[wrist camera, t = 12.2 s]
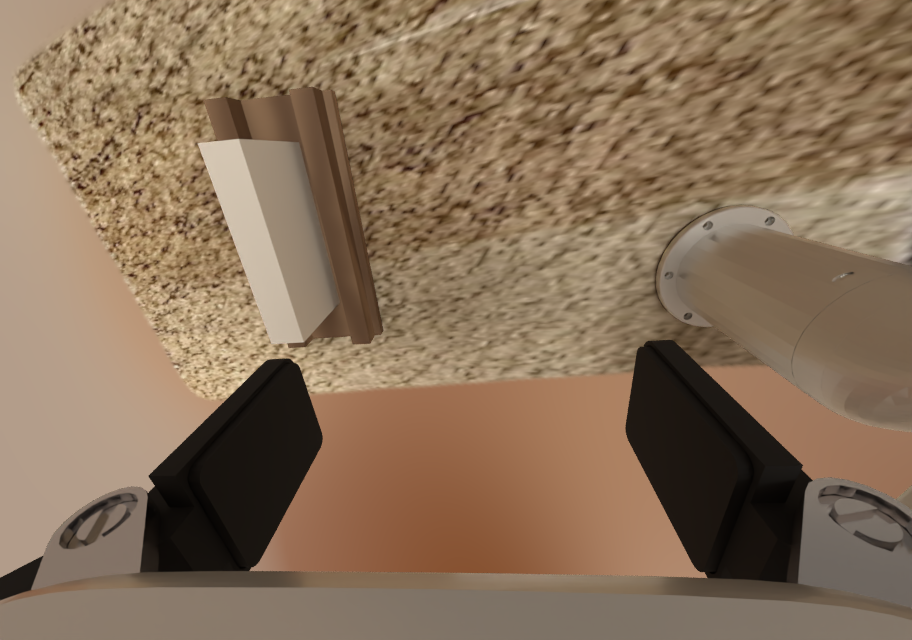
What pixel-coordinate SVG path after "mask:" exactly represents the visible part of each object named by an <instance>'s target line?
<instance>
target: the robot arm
mask: <svg viewBox="0 0 912 640" xmlns="http://www.w3.org/2000/svg"><path fill="white" fill-rule="evenodd" d="M703 225H704V226H703ZM656 289H657V293H658V297H659V299H660V301H661V303H662V305H663V306H664V307H665V308H666V310H667V311H668V312H669V313H670V314H672V315H673V316H674V317H675V318H677V319H678V320H680V321H682V322H684V323H687V324H690V325H693V326H700V327H715V328H717V329H718V330H719V331H721V332H722V333H724V334H725V335H726V336H728V337H729V338H730V339H732V340H733V341H735V342H736V343H737V344H739V345H740V346H741V347H743V348H744V349H746V350H747V351H748V352H750V353H751V354H752V355H754V356H755V357H756V358H758V359H759V360H761V361H762V362H763V363H765V364H766V365H767V366H769V367H770V368H772V369H773V370H774V371H776V372H777V373H778V374H780V375H781V376H782V377H784V378H785V379H787V380H788V381H789V382H791V383H792V384H793V385H795V386H796V387H798V388H799V389H801V390H802V391H803V392H804V393H806V394H808V395H809V396H810V397H812V398H813V399H814V400H816V401H817V402H819V403H820V404H822V405H823V406H825V407H827V408H828V409H830V410H831V411H833V412H835V413H837V414H839V415H841V416H843V417H845V418H848V419H850V420H853V421H856V422H859V423H862V424H865V425H870V426H874V427H879V428H885V429H890V430H897V431H906V432H912V266H909V265H905V264H901V263H897V262H893V261H889V260H886V259H882V258H878V257H874V256H870V255H867V254H863V253H859V252H855V251H851V250H847V249H844V248H840V247H836V246H832V245H828V244H824V243H821V242H817V241H813V240H809V239H805V238H801V237H798V236H794V235H793V232H792V230H791V228H790V227H789V225H788V223H787V222H786V221H785V220H784V219H783V218H782V217H780V216H779V215H778V214H776V213H774V212H772V211H770V210H768V209H764V208H760V207H755V206H746V205H738V206H729V207H725V208H721V209H717V210H714V211H712V212H710V213H707V214H705V215H703V216H701V217H699V218H698V219H696V220H695V221H693V222H691V223H690V224H689V225H688V226H686V227H685V228H684V229H683V230H682V231H681V232H679V234H678V235H677V236H676V237H675V238H674V239H673V240H672V241H671V243H670V244H669V246H668V247H667V249H666V250H665V252H664V254H663V256H662V258H661V261H660V263H659V265H658V270H657V275H656ZM626 435H627V438H628V441H629V443H630V444H631V446H632V448H633V450H634V452H635V454H636V456H637V458H638V460H639V462H640V463H641V466H642V468H643V469H644V471H645V473H646V475H647V477H648V479H649V481H650V483H651V485H652V487H653V488H654V491H655V492H656V494H657V496H658V498H659V500H660V502H661V504H662V506H663V508H664V510H665V512H666V514H667V516H668V517H669V519H670V521H671V523H672V525H673V527H674V529H675V531H676V533H677V535H678V537H679V538H680V540H681V542H682V544H683V546H684V548H685V550H686V552H687V554H688V556H689V558H690V560H691V562H692V563H693V565H694V567H695V568H696V569H697V570H698V571H700V572H705V574H706V575H707V578H688V577H659V576H658V577H657V576H612V575H610V576H609V575H607V576H606V575H555V574H554V575H553V574H550V575H549V574H493V573H490V574H489V573H409V572H408V573H407V572H406V573H405V572H289V571H288V572H287V571H285V572H283V571H279V572H277V571H249V570H250V569H251V567H254V566H256V564H257V563H258V562H259V561H260V559H261V557H262V556H263V554H264V552H265V550H266V548H267V546H268V544H269V542H270V541H271V539H272V537H273V535H274V533H275V531H276V530H277V528H278V526H279V524H280V522H281V520H282V518H283V516H284V515H285V513H286V511H287V509H288V507H289V505H290V503H291V502H292V500H293V498H294V496H295V494H296V492H297V490H298V489H299V487H300V485H301V483H302V481H303V479H304V477H305V475H306V474H307V472H308V470H309V468H310V466H311V464H312V462H313V461H314V459H315V457H316V455H317V453H318V451H319V450H320V448H321V445H322V439H323V438H322V432H321V429H320V426H319V423H318V421H317V418H316V415H315V411H314V408H313V406H312V403H311V400H310V397H309V394H308V391H307V388H306V385H305V382H304V379H303V376H302V373H301V370H300V367H299V366H298V364H296V363H294V362H293V361H292V360H291V359H270V360H267V361H266V362H264V363H263V364H262V365H261V366H260V367H259V368H258V369H257V370H256V371H255V372H254V373H253V374H252V375H251V376H250V377H249V378H248V379H247V380H246V381H245V382H244V383H243V384H242V385H241V386H240V387H239V388H238V389H237V390H236V391H235V392H234V393H233V394H232V395H231V396H230V397H229V398H228V399H227V400H226V401H225V402H224V403H223V404H222V405H221V406H219V407H218V409H217V410H215V411H214V413H212V414H211V415H210V416H209V417H208V418H207V419H206V420H205V421H204V422H203V423H202V424H201V425H200V426H199V427H198V428H197V429H196V430H195V431H194V432H193V433H192V434H191V435H190V436H189V437H188V438H187V439H186V440H185V441H184V442H183V443H182V444H181V445H180V446H179V447H178V448H177V449H176V450H175V451H173V453H171V454H170V455H169V456H168V457H167V458H166V459H165V460H164V461H163V462H162V463H161V464H160V465H159V466H158V467H157V468H156V469H155V470H154V471H153V472H152V473H151V474H150V475H149V478H150V479H151V480H152V482H153V484H154V485H155V487H154V488H153V489H152V490H151V491H150V492H149V493H147V491H146V490H144V489H143V488H141V487H127V488H122V489H118V490H116V491H113V492H110V493H108V494H105V495H103V496H101V497H99V498H97V499H96V500H93V501H92V502H90V503H89V504H87V505H86V506H84V507H82V508H81V509H79V510H78V511H77V512H75V513H74V514H73V515H72V516H71V517H69V518H68V519H67V520H66V521H65V522H64V523H63V524H62V525H61V526H60V527H59V528H58V529H57V530H56V531H55V533H54V534H53V536H52V538H51V539H50V541H49V543H48V545H47V548H46V550H45V553H44V556H42V557H40V558H38V559H36V560H34V561H32V562H30V563H28V564H26V565H24V566H22V567H20V568H18V569H17V570H14V571H13V572H11V573H9V574H7V575H5V576H3V577H1V578H0V640H912V486H910V487H909V488H908V489H907V490H906V491H905V492H904V493H903V494H902V495H900V496H899V497H898V498H897V499H894V498H892V497H890V496H889V495H887V494H884V493H882V492H880V491H878V490H875V489H873V488H871V487H868V486H866V485H863V484H859V483H856V482H853V481H849V480H844V479H838V478H818V479H816V480H814V481H813V480H812V479H811V478H809V477H808V475H806V474H805V473H804V472H803V471H802V470H801V468H802V466H803V465H802V464H801V463H800V462H799V461H798V460H797V459H796V458H795V457H794V456H792V455H791V454H790V453H789V452H788V451H787V450H786V449H785V448H784V447H783V446H782V445H781V444H780V443H779V442H778V441H777V440H776V439H775V438H774V437H773V436H772V435H771V434H770V433H769V432H767V431H766V429H765V428H764V427H762V426H761V425H760V424H759V423H758V422H757V421H756V420H755V419H754V418H753V417H752V416H751V415H750V414H749V413H748V412H747V411H746V410H745V409H744V408H743V407H742V406H741V405H740V404H739V403H737V401H735V400H734V399H733V398H732V397H731V396H730V395H729V394H728V393H727V392H726V391H725V390H724V389H723V388H722V387H721V386H720V385H719V384H718V383H717V382H716V381H715V380H714V379H713V378H712V377H711V376H709V374H707V373H706V372H705V371H704V370H703V369H702V368H701V367H700V366H699V365H698V364H697V363H696V362H695V361H694V360H693V359H692V358H691V357H690V356H689V355H688V354H687V353H686V352H685V351H684V350H683V349H682V348H681V347H679V346H678V345H677V344H676V343H675V342H674V341H672V340H660V341H647V342H646V343H645V345H644V347H639V348H638V351H637V355H636V362H635V368H634V375H633V381H632V388H631V395H630V401H629V407H628V415H627V420H626Z"/></svg>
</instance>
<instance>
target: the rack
mask: <svg viewBox="0 0 912 640" xmlns="http://www.w3.org/2000/svg"><path fill="white" fill-rule="evenodd" d="M289 92H290V95H283V96H274V97H266V98H258V99H249V100H241V101H240V100H236V99H231V98H227V97H224V98H216V99H207V100H203V101H204V103H205V106H206V109H207V112H208V115H209V118H210V121H211V124H212V127H213V130H214V133H215V135H216V138H217V141H224V140H233V139H250V140H267V141H285V142H299V144H300V148H301V152H302V156H303V160H304V164H305V168H306V172H307V176H308V180H309V184H310V188H311V192H312V195H313V199H314V203H315V207H316V211H317V215H318V219H319V223H320V227H321V231H322V235H323V239H324V243H325V246H326V250H327V254H328V258H329V262H330V266H331V270H332V274H333V278H334V282H335V286H336V290H337V294H338V297H339V301H340V303H339V304H338V305H337V306H336V307H335V308H334V309H333V311H332V312H331V313H330V314H329V315H328V316H327V317H326V318H325V319H324V321H323V322H322V323H321V324H320V325H319V326H318V327H317V328H316V329H315V331H314V332H313V333H312V334H311V335H310V336H309V337H308V338H307V339H306V340H305V342H300V343H287V344H288V347H289V348H295V347H306V346H307V345H308V344H309V342H310V341H311V340H312V339H313V338H329V337H347V336H351V339H352V343H353V344H369V343H371V341H372V339H373V337H374V336H375V335H381V334H382V332H383V327H382V322H381V317H380V312H379V307H378V302H377V297H376V292H375V287H374V282H373V278H372V273H371V268H370V263H369V258H368V253H367V248H366V243H365V238H364V233H363V228H362V223H361V218H360V214H359V209H358V204H357V199H356V194H355V189H354V184H353V179H352V174H351V169H350V164H349V159H348V154H347V150H346V145H345V140H344V135H343V130H342V125H341V120H340V115H339V110H338V105H337V100H336V95H335V92H334V91H332V90H325V91H321V90H319V89H316V88H314V87H307V88H299V89H291V90H289Z"/></svg>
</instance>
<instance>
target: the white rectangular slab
mask: <svg viewBox="0 0 912 640" xmlns="http://www.w3.org/2000/svg"><path fill="white" fill-rule="evenodd" d="M198 145H199V148H200V151H201V153H202V156H203V159H204V161H205V164H206V167H207V170H208V172H209V175H210V178H211V180H212V183H213V186H214V189H215V191H216V194H217V197H218V200H219V202H220V205H221V208H222V210H223V213H224V216H225V219H226V221H227V224H228V227H229V229H230V232H231V235H232V238H233V240H234V243H235V246H236V248H237V251H238V254H239V257H240V259H241V262H242V265H243V268H244V270H245V273H246V276H247V278H248V281H249V284H250V287H251V289H252V292H253V295H254V297H255V300H256V303H257V306H258V308H259V311H260V314H261V316H262V319H263V322H264V325H265V327H266V330H267V333H268V335H269V338H270V341H271V344H282V343H300V342H305V340H306V339H307V338H308V337H309V336H310V335H311V334H312V333H313V332H314V331H315V329H316V328H317V327H318V326H319V325H320V324H321V323H322V322H323V321H324V319H325V318H326V317H327V316H328V315H329V314H330V313H331V312H332V311H333V309H334V308H335V307H336V306H337V305H338V304H339V303H340V301H339V297H338V294H337V290H336V286H335V282H334V278H333V274H332V270H331V266H330V262H329V258H328V254H327V250H326V246H325V243H324V239H323V235H322V231H321V227H320V223H319V219H318V215H317V211H316V207H315V203H314V199H313V195H312V192H311V188H310V184H309V180H308V176H307V172H306V168H305V164H304V160H303V156H302V152H301V148H300V144H299V142H285V141H267V140H250V139H233V140H224V141H215V142H206V143H198Z"/></svg>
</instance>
